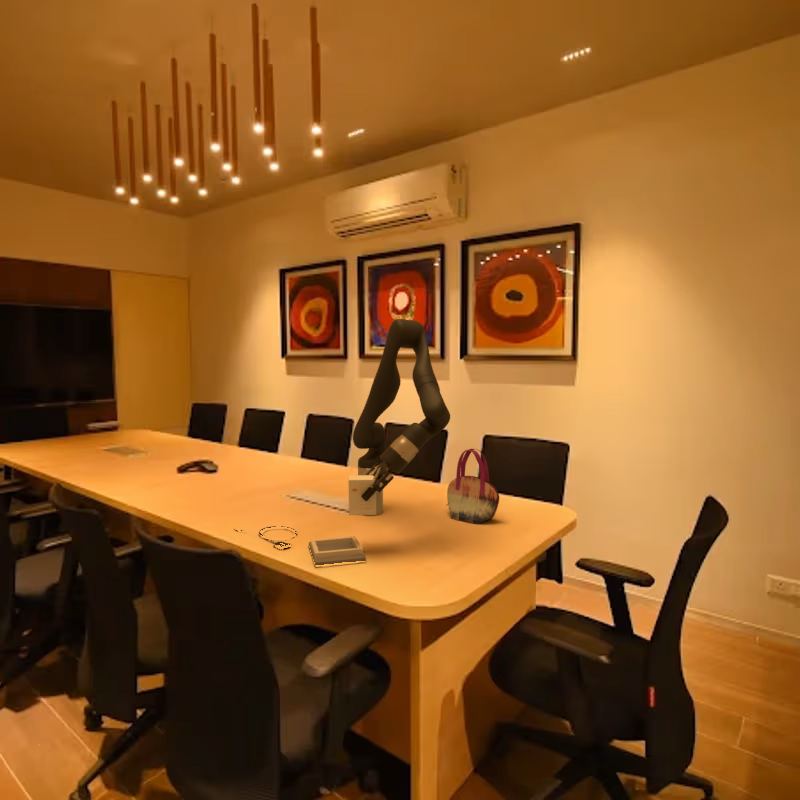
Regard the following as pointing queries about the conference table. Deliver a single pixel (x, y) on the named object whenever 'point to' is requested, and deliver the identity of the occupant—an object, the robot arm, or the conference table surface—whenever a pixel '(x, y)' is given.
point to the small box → (360, 495)
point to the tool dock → (336, 550)
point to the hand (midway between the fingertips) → (360, 495)
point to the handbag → (472, 492)
